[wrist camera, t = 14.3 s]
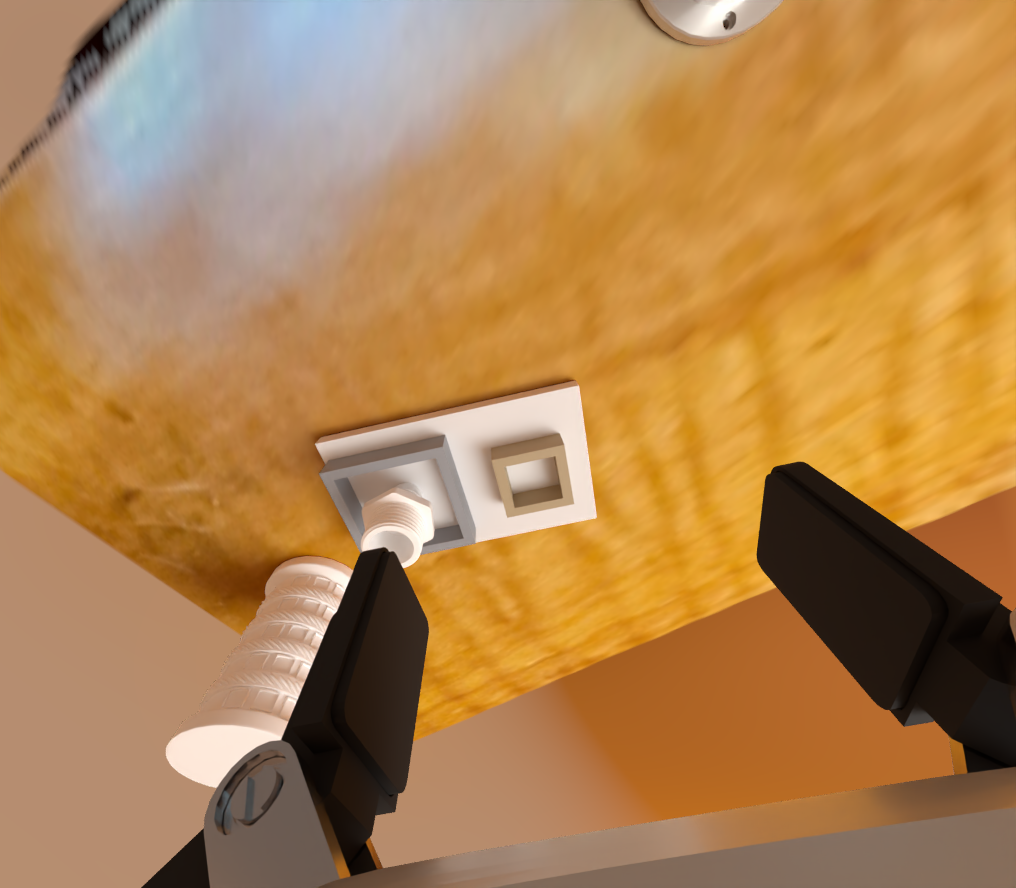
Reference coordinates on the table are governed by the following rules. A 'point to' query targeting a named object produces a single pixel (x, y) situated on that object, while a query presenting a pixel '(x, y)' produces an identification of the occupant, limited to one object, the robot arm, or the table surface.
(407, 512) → the pipe fitting
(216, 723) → the white carved column
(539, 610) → the table surface
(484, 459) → the board
